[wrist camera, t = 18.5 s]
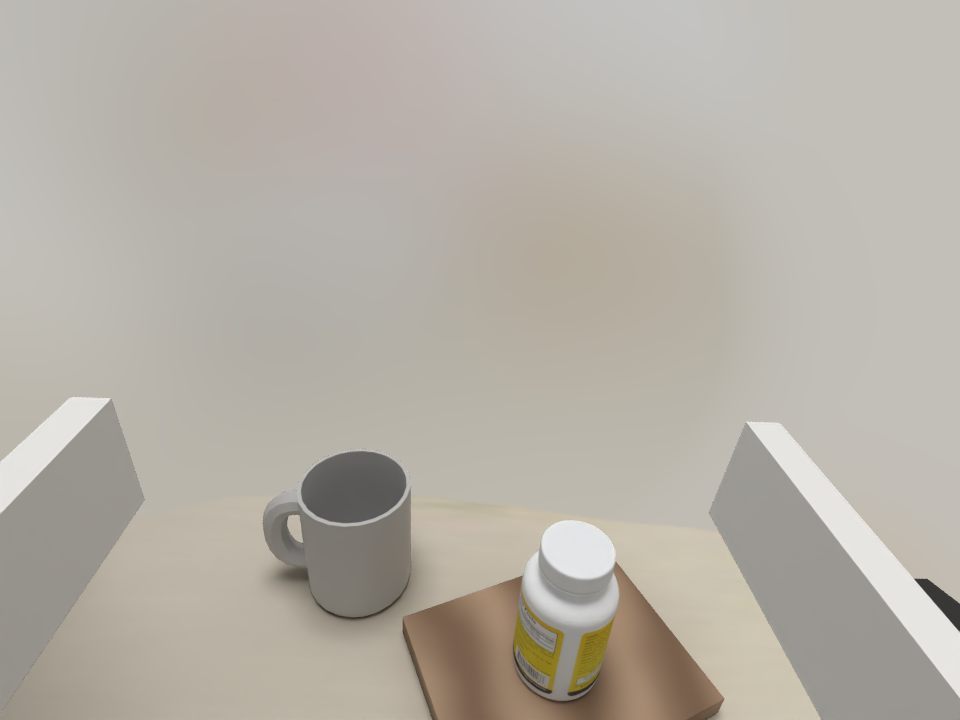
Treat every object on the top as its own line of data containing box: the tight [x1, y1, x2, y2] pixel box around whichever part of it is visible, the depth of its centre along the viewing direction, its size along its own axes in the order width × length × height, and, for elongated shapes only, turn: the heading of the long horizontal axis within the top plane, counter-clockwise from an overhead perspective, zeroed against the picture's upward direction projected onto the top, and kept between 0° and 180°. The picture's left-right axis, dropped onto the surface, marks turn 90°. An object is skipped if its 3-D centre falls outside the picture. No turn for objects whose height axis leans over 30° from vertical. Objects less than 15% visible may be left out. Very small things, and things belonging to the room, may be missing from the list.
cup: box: [263, 449, 411, 618], centre depth 37 cm, size 7×10×9 cm
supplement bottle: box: [513, 520, 619, 701], centre depth 31 cm, size 5×5×10 cm
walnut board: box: [403, 562, 724, 720], centre depth 34 cm, size 16×12×2 cm
